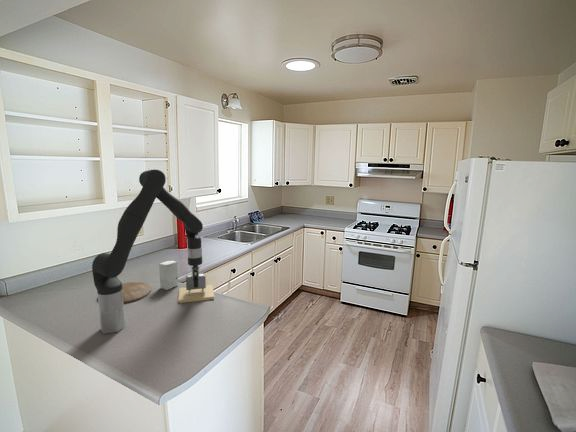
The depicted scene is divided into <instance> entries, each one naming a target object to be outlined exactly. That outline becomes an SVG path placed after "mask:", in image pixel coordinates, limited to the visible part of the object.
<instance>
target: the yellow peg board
mask: <svg viewBox="0 0 576 432" xmlns="http://www.w3.org/2000/svg"><path fill="white" fill-rule="evenodd" d="M210 299H211V300H214V299H215V292H214V287H213V284H207V285H206V288H203V289H193V290H186V286H185V287H180V288H179V291H178V299H177V300H178V301H177V303H178V304H184V303H191V302H201V301H209V300H210ZM211 300H210V301H211Z"/></svg>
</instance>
